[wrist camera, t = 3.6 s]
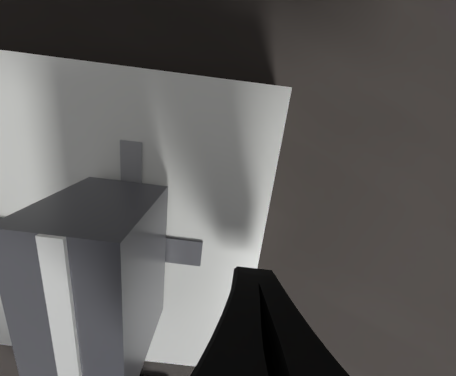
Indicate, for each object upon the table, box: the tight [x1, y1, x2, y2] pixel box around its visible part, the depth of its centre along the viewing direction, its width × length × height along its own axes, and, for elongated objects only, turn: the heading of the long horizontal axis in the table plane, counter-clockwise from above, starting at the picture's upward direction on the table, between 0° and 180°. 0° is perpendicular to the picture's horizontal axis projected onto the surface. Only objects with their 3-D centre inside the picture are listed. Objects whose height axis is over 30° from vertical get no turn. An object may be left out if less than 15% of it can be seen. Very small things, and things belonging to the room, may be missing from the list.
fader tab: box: [0, 177, 168, 376], centre depth 8 cm, size 6×3×4 cm, turn 173°
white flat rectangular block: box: [0, 50, 292, 366], centre depth 12 cm, size 14×25×3 cm, turn 83°
